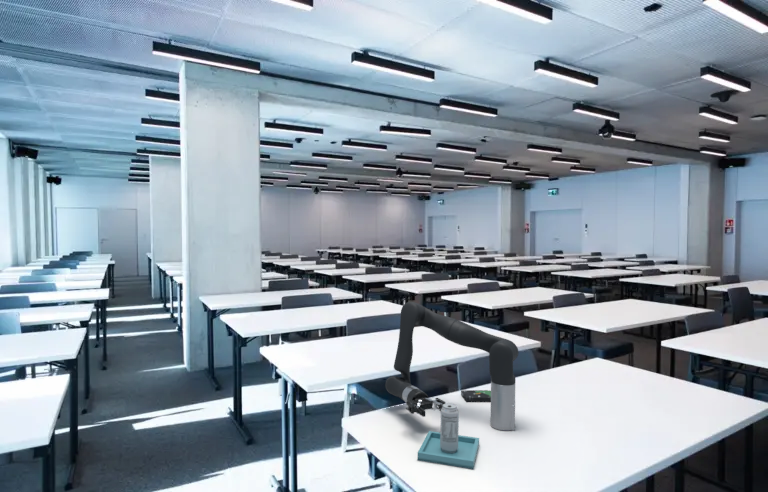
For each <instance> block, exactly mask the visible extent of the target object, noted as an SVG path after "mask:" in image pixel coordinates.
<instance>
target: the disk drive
mask: <svg viewBox="0 0 768 492" xmlns="http://www.w3.org/2000/svg"><path fill="white" fill-rule="evenodd" d="M460 395H461V397H462V399H463V400H464V401H465V402H466V403H491V389H490V390H488V389H485V390H479V389H475V390H469V389H468V390H464V389H463V390H461V391H460Z"/></svg>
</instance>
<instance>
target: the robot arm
mask: <svg viewBox="0 0 768 492" xmlns="http://www.w3.org/2000/svg"><path fill="white" fill-rule="evenodd" d="M399 320H400V321H399V333H398V341H397V342H398V343H397V348H396V349H397V350H396V352H395V353H396V354H395V358H394V363H393V369H394V370H395V371H396V372H399V373H400V375H401V376H394V375H393V376H391V375H390V376H389V377H388V378H387V379H386V380H385V389H386V391H387V392H388V393H389V394H390V395H393V396H395V397H397V398H400V399H401V400H402V401H404V402H405V408H406V410H407V411H408V412H409V413H410V414H411V415H414V414H418V415H419V416H421V417H423V418H424V417H426V410H431V411H436V410H437V411H440V412H441V409H442V407H443V404H445V403H446V401H444V400H443V399H441V398H439V397H435V398H434V399H432V398H430V397H429V396H428V394H427V393H426V392H424V391H423V390H421V389H420V388H418V387H417V386H415V385H412V383H411V364H412V361H413V353H414V347H413V346H414V344H413V337H414V336H413V334H414V329H415V326H417V325H418V326H422V327H423V328H426V329H430V330H432V331H433V332H435V333H436V334H438V335H439V336H441V337H442V338H444V339H445V340H448V341H450V342H452V343H454V344H456V345H459V346H462V347H466V348H473V349H478V350H480V351H484V352H486V353H488V358H489V359H488V363H489V365H488V367H489V369H488V370H489V375H490V391H491V402H490V417H489V419H490V420H489V421H490V423H489V424H490V426H491V427H492V428H493V429H495V430H498V431H515V429H516V375H515V374H514V361H515V360H516V359H517V358H518V356H519V349H518V346H517V345H516V344H515V343H514V342H513V341H511V340H510V339H507V338H504V337H500V336H497V335H494V334H490V333H488V332H486V331H483V330H482V329H479V328H477V327H475V326H472V325H471V324H467V323H465V322H463V321H461V320H458V319H457V318H453V317H450V316H446V315H443V314H439V313H436V312H434V311H433V310H431V309H429V308H427V307H425V306H424V305H422V304H420V303H418V302H415V301H407V302H405V303H404V304H403V305H402V307H401V310H400V318H399Z"/></svg>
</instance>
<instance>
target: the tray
mask: <svg viewBox="0 0 768 492" xmlns="http://www.w3.org/2000/svg"><path fill="white" fill-rule="evenodd" d="M479 447H480V437H475V436H466V435H462V434H461V435H460V434H458V449H457V450H456V452H454V453H446V452H444V451H442V448H441V447H440V432H438V431H431V430H428V433H426V437H424V440H423V442H422V443H421V446H419V450H418V452H417V461H421V462H427V463H433V464H437V465H438V464H439V465H444V466H445V465H446V466H452V467H457V468H463V469H469V470H474V469H475V465H476V461H477V457H478V456H477V455H478V452H479Z"/></svg>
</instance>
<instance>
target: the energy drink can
mask: <svg viewBox="0 0 768 492" xmlns="http://www.w3.org/2000/svg"><path fill="white" fill-rule="evenodd" d="M459 413H460V411H459V409H458V405H457V404H455V403H452V402H451V403H449V402H447V403H445V404H443V407H442V409H441V411H440V447H441V448H442V451H444V452H446V453H454V452H456V450H457V449H458V435H459V428H460V427H459V421H460V420H459V418H460V417H459Z"/></svg>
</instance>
